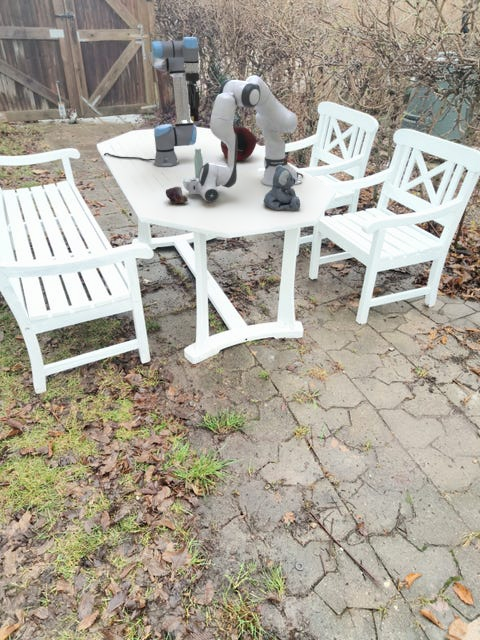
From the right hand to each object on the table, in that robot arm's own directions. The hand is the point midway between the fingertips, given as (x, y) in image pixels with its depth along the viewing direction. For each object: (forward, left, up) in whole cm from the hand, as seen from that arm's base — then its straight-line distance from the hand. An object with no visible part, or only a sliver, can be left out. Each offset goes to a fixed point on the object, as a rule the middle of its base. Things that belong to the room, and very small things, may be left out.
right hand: (199, 178), depth 248 cm
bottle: (0, +1, -6) cm, 6 cm away
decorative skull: (-38, -54, -6) cm, 66 cm away
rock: (+16, +17, -6) cm, 24 cm away
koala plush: (-34, +38, -6) cm, 52 cm away
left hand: (-3, -17, +27) cm, 32 cm away
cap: (-3, -17, +28) cm, 33 cm away
